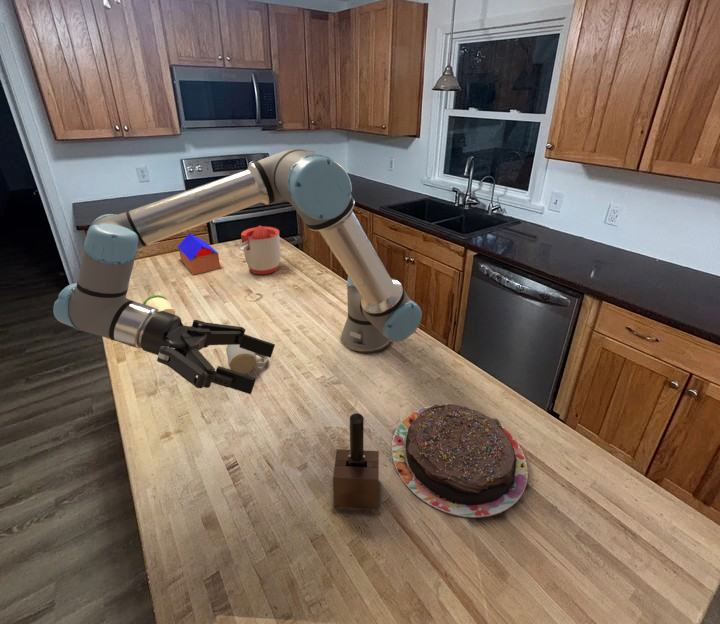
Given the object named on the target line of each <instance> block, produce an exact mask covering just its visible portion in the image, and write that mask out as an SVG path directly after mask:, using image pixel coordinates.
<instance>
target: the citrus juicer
mask: <svg viewBox="0 0 720 624" xmlns="http://www.w3.org/2000/svg"><path fill="white" fill-rule="evenodd" d="M240 233H241V234H240V236H241V237H240V239H241V243H240V244H239V247H238V248H239V250H240V251H243V254H244V255H243V256H244V259H245V262H246V264H247V267H248V269H249V271H250V272H251V273H253V274H255V275H260V276H262V275H269V274H271V273H274V272H276V271H277V270H278V269H279V266H280V262H281V257H282V256H281V255H282V254H281V240H280V239H281V238H280V230H279V229H278V228H276V227H272V226H262V225H258V226H256V227H250V228H247V229H245V230H243V231H241V232H240Z"/></svg>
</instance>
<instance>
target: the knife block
mask: <svg viewBox="0 0 720 624" xmlns="http://www.w3.org/2000/svg"><path fill="white" fill-rule="evenodd" d="M335 451H336V452H335V458H334V465H333V473H332V489H333V508H338V509H339V508H340V509H341V508H342V509H357V510H358V509H359V510H375V511H376V510H377V511H378V502H379V471H380V470H379V469H380V468H379V465H380V462H379V461H380V452H379V450H366V449H365V450H364V449H363V455H364V456H365V467H349V466H348V455H350V449H341V448H336V450H335Z"/></svg>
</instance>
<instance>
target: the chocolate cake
mask: <svg viewBox="0 0 720 624" xmlns="http://www.w3.org/2000/svg"><path fill="white" fill-rule="evenodd" d="M405 438H406V439H405ZM404 446H405V447H404ZM404 448H405V454H404ZM405 456H406V458H405ZM391 458H392V463H393V465H394V468H395V470H396V473H397V475H398V476H399V478H400V479H401V481H402V482H403V484H404V486H406V487H407V488H408V490H409V491H410V492H411V493H412V494H413V495H414V496H415V497H417V498H418V499H420V501H422V502H423V503H424V504H425V505H429V506H430V507H431V508H434V509H437V510H438V511H440V512H444V513H446V514H450V515H451V516H454V517H459V518H467V519H484V518H485V517H486V518H487V517H503V514H502V513H503V512H505V511H508V510H509V509H511V508H512V507H514V506H516V505H517V503H518V502H519V501H520V499H521V497H522V495H523V494H524V493H525V489H526V488H527V484H528V478H529V476H530V475H529V465H528V461H527V458H526V454H525V453H524V451H523V449H522V447H521V445H520V444H519V442H518V441H517V439H516V438H515V437H514V436H513V435H512V434H511V432H509V430H507V428H506V427H504V426H503V425H502V424H501V422H500V420H499V419H498V418H492V417H491V416H489V415H487V414H485V413H483V412H481V411H479V410H476V409H474V408H471V407H467V406H462V405H458V404H454V403H447V404H433V405H428V406H425V407H421V408H419V409H416V410H415V411H411V412H410V413H409V414H407V416H405V417H404V418H402V420H401V421H400V422H399V424H398V425H397V427H396V428H395V430H394V433H393V436H392V438H391ZM406 460H407V461H406ZM412 473H413V474H412Z"/></svg>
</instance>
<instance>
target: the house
mask: <svg viewBox="0 0 720 624" xmlns="http://www.w3.org/2000/svg"><path fill="white" fill-rule="evenodd" d="M177 249H178V251H179V252H178V253H179V257H180V261H181V262H182V263H183V264H184V265H185V267H186V268H187V269H188V270H189V271H190V273H191V274H192V275H193V276H194V275H195V276H196V275H200V274H203V273H207V272H211V271H216V270H219V269H221V263H220V256H219V253H218V251H216V250H215V248H213V247H212V246H210V245H209V243H207V242H206V241H205V240H203V239H201V238H199V237H197V236H195V235H193V234H191V233H188V234H187V235H186V237H185V238H183V240H182V241H181V242H180V243H179V244H178V245H177Z"/></svg>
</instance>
